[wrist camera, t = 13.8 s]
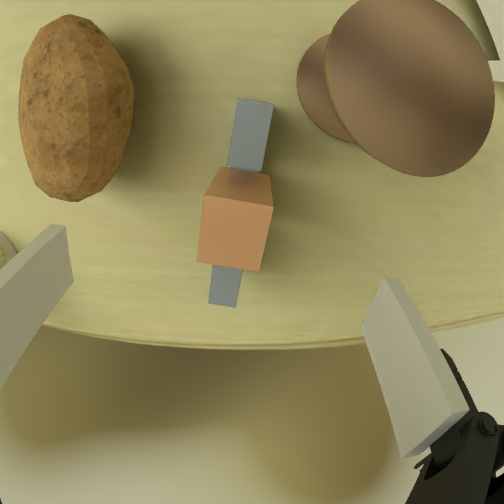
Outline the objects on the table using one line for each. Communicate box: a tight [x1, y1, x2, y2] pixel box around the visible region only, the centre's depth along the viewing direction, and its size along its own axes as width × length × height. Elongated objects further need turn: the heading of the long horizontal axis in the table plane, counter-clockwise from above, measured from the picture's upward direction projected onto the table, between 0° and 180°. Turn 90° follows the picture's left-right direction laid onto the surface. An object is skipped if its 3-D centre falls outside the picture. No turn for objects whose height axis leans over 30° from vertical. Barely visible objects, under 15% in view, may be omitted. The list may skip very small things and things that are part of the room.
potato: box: [19, 14, 134, 202], centre depth 17 cm, size 10×14×8 cm
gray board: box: [208, 98, 274, 308], centre depth 21 cm, size 14×2×6 cm, turn 170°
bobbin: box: [297, 0, 495, 177], centre depth 15 cm, size 9×9×11 cm
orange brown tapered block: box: [197, 167, 274, 272], centre depth 20 cm, size 4×4×7 cm
